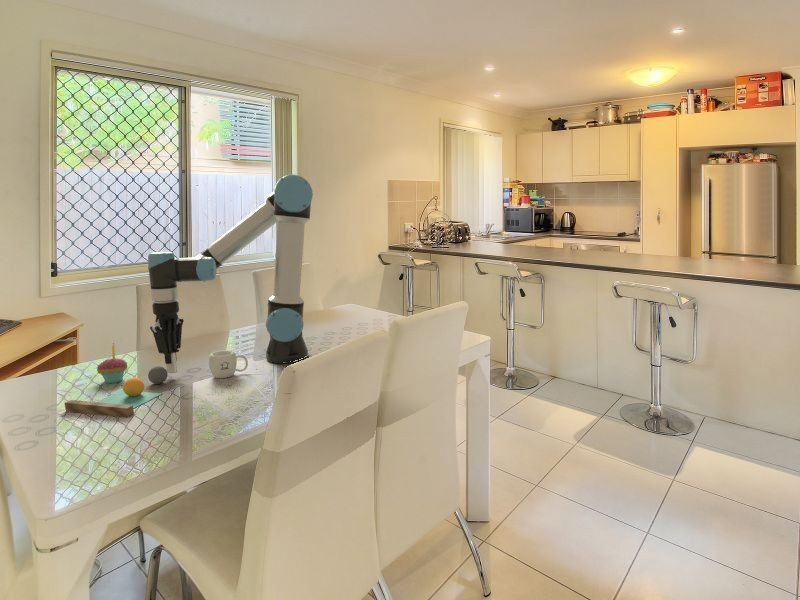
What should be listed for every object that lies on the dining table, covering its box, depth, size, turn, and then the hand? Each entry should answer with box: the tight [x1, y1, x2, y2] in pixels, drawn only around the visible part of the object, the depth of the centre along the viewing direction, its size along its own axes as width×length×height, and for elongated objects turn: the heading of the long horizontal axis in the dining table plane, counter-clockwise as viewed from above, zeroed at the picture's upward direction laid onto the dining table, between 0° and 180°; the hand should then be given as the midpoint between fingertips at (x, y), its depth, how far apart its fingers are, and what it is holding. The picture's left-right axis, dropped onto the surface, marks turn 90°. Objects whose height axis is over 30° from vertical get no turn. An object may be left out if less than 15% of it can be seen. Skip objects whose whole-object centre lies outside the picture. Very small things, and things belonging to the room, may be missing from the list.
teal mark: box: [96, 389, 163, 410], centre depth 137 cm, size 14×14×1 cm
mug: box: [208, 349, 249, 379], centre depth 158 cm, size 12×8×8 cm
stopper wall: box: [64, 399, 135, 418], centre depth 129 cm, size 20×2×2 cm, turn 77°
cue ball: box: [147, 365, 169, 385], centre depth 151 cm, size 6×6×6 cm
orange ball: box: [122, 377, 145, 397], centre depth 141 cm, size 6×6×6 cm
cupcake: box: [96, 342, 128, 384], centre depth 154 cm, size 9×8×12 cm
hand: (172, 372), depth 157 cm, fingers closed
